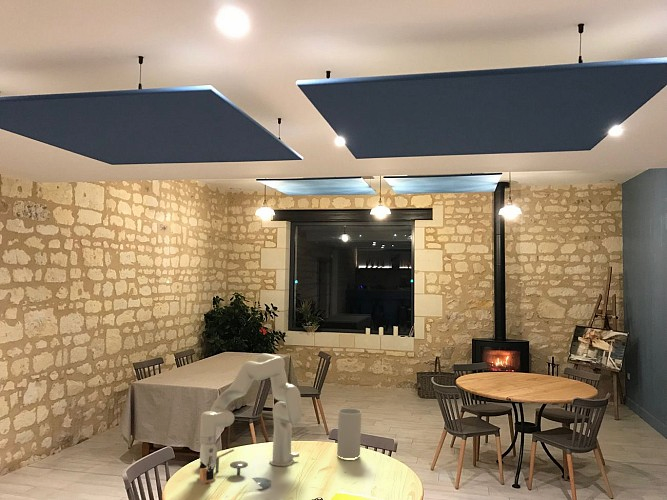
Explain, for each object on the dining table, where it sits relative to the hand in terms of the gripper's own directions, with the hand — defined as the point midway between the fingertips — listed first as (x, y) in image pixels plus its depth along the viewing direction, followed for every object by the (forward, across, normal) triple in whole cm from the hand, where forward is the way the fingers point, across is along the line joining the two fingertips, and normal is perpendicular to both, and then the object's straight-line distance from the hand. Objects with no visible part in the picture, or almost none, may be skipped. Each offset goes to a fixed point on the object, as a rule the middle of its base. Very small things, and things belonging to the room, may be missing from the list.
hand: (206, 475), depth 247 cm
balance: (+4, +3, -8) cm, 9 cm away
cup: (+4, +18, -7) cm, 20 cm away
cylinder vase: (+4, +1, -80) cm, 81 cm away
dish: (+4, -12, -21) cm, 25 cm away
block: (+2, 0, 0) cm, 2 cm away
